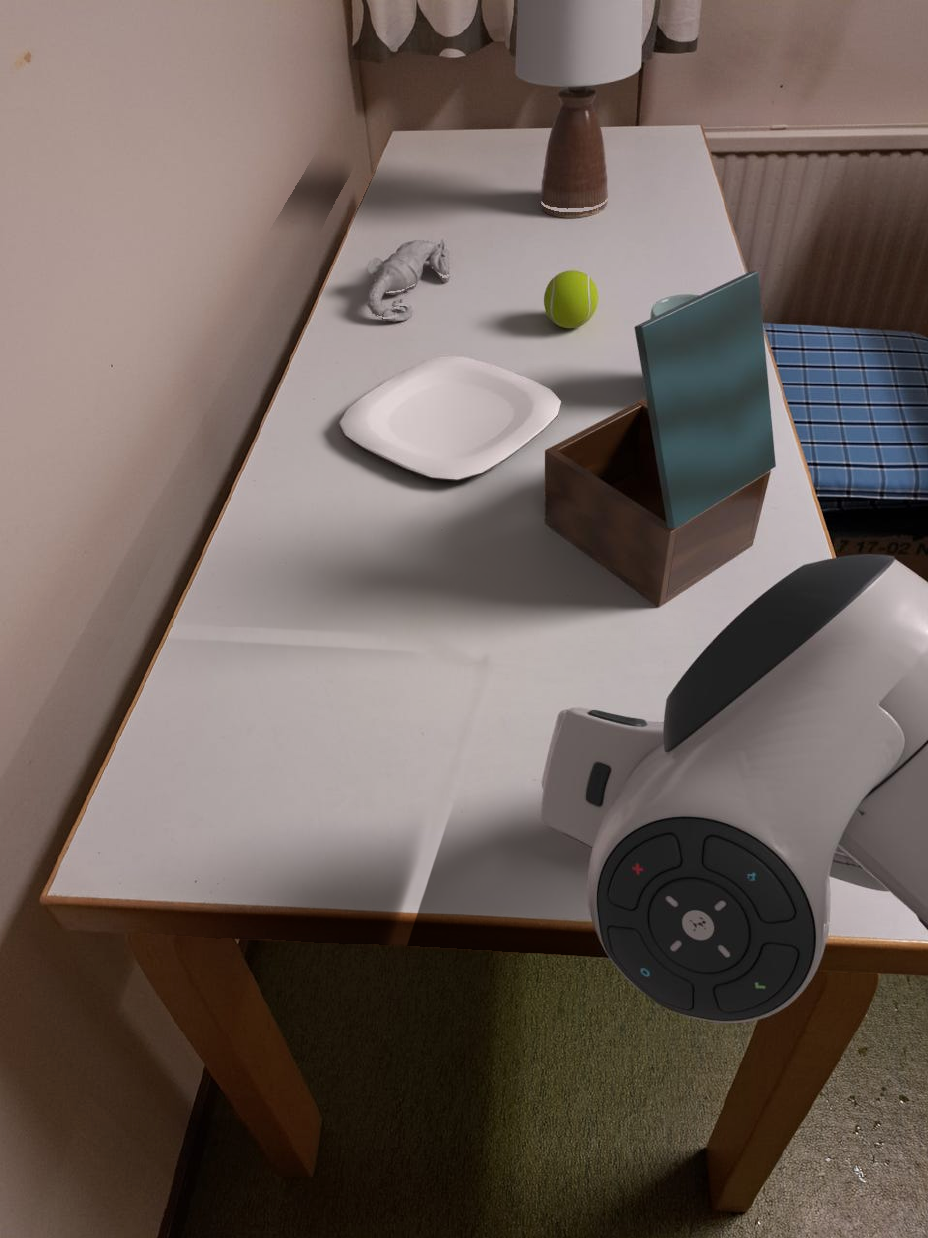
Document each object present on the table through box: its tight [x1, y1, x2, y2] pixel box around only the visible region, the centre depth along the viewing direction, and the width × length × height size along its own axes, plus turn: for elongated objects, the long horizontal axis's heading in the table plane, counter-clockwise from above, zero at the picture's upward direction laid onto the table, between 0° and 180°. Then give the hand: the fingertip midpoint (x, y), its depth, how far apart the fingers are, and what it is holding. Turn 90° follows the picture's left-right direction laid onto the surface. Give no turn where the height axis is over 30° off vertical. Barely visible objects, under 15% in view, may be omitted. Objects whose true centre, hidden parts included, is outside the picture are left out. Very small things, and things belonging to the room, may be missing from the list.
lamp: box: [514, 0, 643, 219], centre depth 125 cm, size 19×19×37 cm
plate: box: [339, 355, 562, 482], centre depth 96 cm, size 22×22×2 cm
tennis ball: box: [543, 269, 599, 329], centre depth 109 cm, size 7×7×7 cm
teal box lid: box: [634, 270, 777, 529], centre depth 66 cm, size 16×13×1 cm
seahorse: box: [365, 238, 451, 323], centre depth 119 cm, size 5×12×20 cm
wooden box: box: [544, 399, 772, 608], centre depth 78 cm, size 16×13×9 cm
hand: (721, 768), depth 55 cm, fingers open, 8 cm apart
